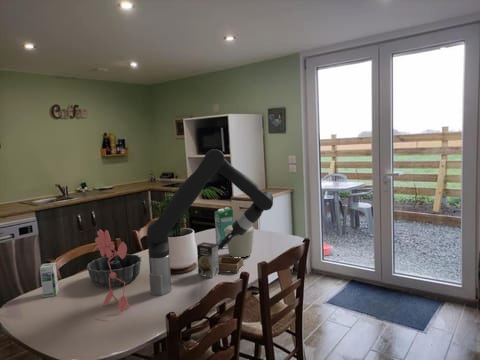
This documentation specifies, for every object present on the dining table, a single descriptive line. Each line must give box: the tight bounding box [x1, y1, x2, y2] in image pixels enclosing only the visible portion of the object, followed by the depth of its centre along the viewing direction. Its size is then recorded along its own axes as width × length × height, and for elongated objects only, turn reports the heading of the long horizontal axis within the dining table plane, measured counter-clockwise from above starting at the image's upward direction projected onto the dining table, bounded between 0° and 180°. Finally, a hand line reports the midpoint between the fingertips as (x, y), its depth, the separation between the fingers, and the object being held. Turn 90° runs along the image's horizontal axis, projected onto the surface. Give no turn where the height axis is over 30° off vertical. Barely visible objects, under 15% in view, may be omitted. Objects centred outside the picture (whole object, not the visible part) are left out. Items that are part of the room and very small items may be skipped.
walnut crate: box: [218, 256, 244, 273], centre depth 194 cm, size 10×13×4 cm
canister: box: [224, 225, 255, 258], centre depth 214 cm, size 18×18×21 cm
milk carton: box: [214, 206, 234, 247], centre depth 234 cm, size 9×9×25 cm
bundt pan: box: [86, 253, 142, 288], centre depth 184 cm, size 26×26×10 cm
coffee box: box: [196, 242, 220, 278], centre depth 186 cm, size 9×6×16 cm
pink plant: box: [92, 229, 131, 322], centre depth 149 cm, size 15×26×35 cm, turn 51°
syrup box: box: [39, 262, 59, 298], centre depth 169 cm, size 6×6×14 cm
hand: (222, 245), depth 182 cm, fingers open, 8 cm apart
